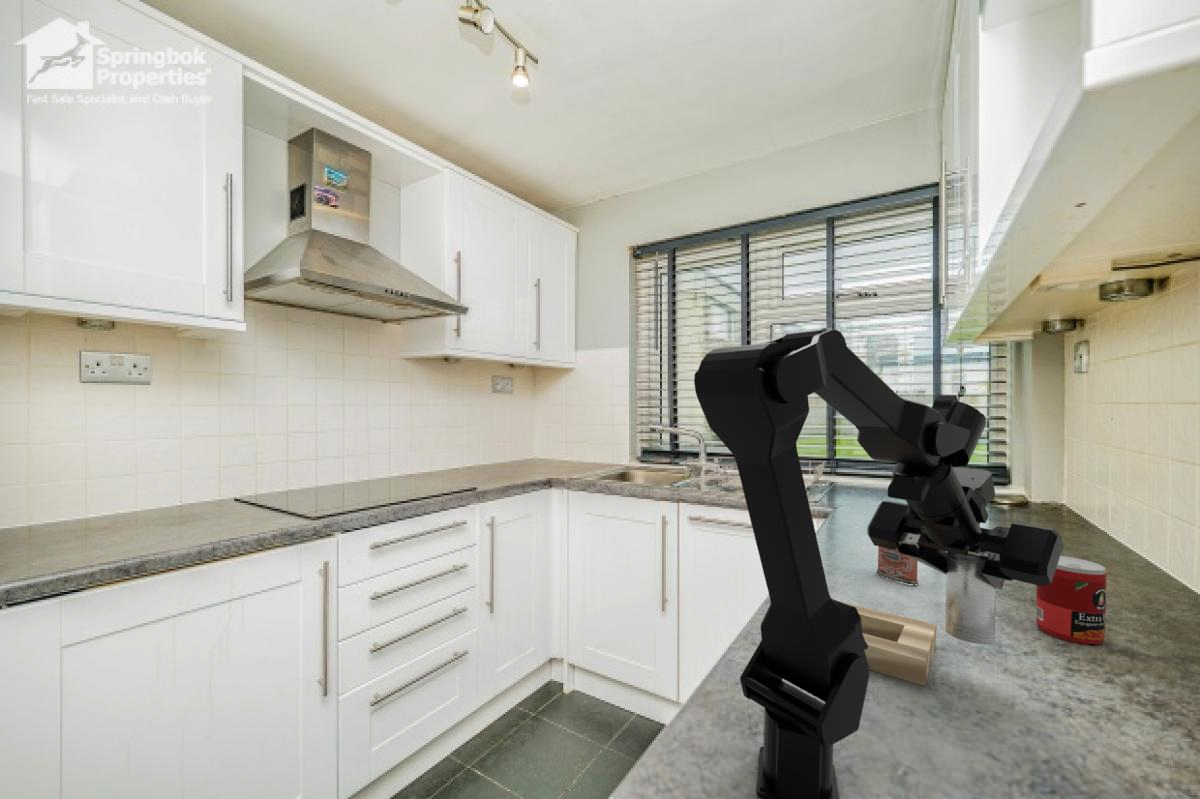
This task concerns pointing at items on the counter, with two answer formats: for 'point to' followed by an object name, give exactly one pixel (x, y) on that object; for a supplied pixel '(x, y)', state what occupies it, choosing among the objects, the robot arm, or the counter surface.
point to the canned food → (1074, 602)
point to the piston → (969, 599)
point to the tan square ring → (898, 644)
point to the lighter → (897, 566)
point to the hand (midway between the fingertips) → (975, 579)
